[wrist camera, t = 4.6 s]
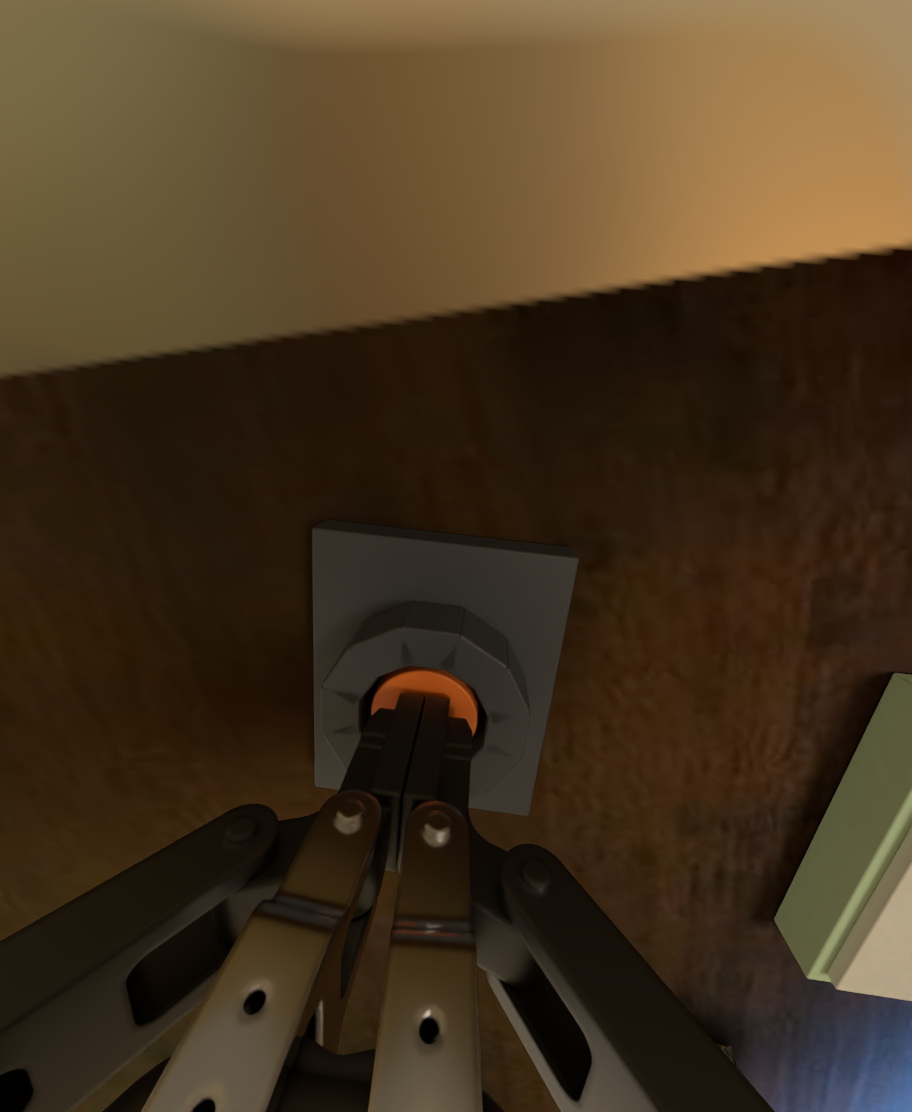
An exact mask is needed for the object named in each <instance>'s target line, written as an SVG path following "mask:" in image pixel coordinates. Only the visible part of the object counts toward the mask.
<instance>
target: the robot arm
mask: <svg viewBox="0 0 912 1112" xmlns="http://www.w3.org/2000/svg"><path fill="white" fill-rule="evenodd" d="M449 709H450V698H443V697H435V696H426V700H425V695H419V694H411V693H403V692H401V693H400V695H399V698H398V701H397V704H396V707H395V710H394V709H386V708H379V709H378V710H377V711H376V712H375V713H374V714H373V715H372V716H371V717H370V718H369V719H368V721H367V723H366V726H365V728H364V731H363V734H362V735H361V738H360V740H359V743H358V747H357V748H356V750H355V753H354V755H353V758H352V760H351V762H350V765H349V767H348V770H347V772H346V775H345V777H344V780H343V782H342V784H341V787H340V789H339V791H338V793H337V794H335V795H334V796H332V797H331V798H330V799H328V800H327V801H326V802H325V803H324V805H323V806H322V807H321V809H320V811H318V812H316V813H314V814H311V815H309V816H305V817H300V818H294V819H288V820H282V821H278V819H277V816H276V814H275V812H274V811H273V810H272V809H270V808H269V807H267V806H265V805H261V804H247V805H243V806H239V807H236V808H234V809H232V810H230V811H228V812H226V813H225V814H223V815H221V816H219V817H218V818H216V819H214V820H212V821H210V822H209V823H207V824H205V825H203V826H202V827H200V828H198V829H196V830H195V831H193V832H191V833H189V834H188V835H186V836H184V837H182V838H181V839H179V840H177V841H175V842H174V843H172V844H170V845H168V846H167V847H165V848H163V849H161V850H160V851H158V852H156V853H154V854H153V855H151V856H149V857H147V858H146V859H144V860H142V861H140V862H139V863H137V864H135V865H133V866H132V867H130V868H128V869H126V870H125V871H123V872H121V873H119V874H118V875H116V876H114V877H112V878H111V879H109V880H107V881H105V882H104V883H102V884H100V885H98V886H96V887H95V888H93V889H91V890H89V891H88V892H86V893H84V894H82V895H81V896H79V897H77V898H75V899H74V900H72V901H70V902H68V903H67V904H65V905H63V906H61V907H60V908H58V909H56V910H54V911H53V912H51V913H49V914H47V915H46V916H44V917H42V918H40V919H39V920H37V921H35V922H33V923H32V924H30V925H28V926H26V927H25V928H23V929H21V930H19V931H18V932H16V933H14V934H12V935H11V936H9V937H7V938H5V939H4V940H2V941H0V1112H71V1111H72V1110H73V1109H74V1108H75V1107H77V1106H78V1105H79V1104H80V1103H81V1102H83V1101H84V1100H85V1099H86V1098H87V1097H89V1096H90V1095H91V1094H92V1093H93V1092H95V1091H96V1090H97V1089H98V1088H99V1087H100V1086H102V1085H103V1084H104V1083H105V1082H106V1081H108V1080H109V1079H110V1078H111V1077H112V1076H114V1075H115V1074H116V1073H117V1072H118V1071H120V1070H121V1069H122V1068H123V1067H124V1066H125V1065H127V1064H128V1063H129V1062H130V1061H131V1060H133V1059H134V1058H135V1057H136V1056H137V1055H139V1054H140V1053H141V1052H142V1051H143V1050H145V1049H146V1048H147V1047H148V1046H149V1045H150V1044H152V1043H153V1042H154V1041H155V1040H156V1039H158V1038H159V1037H160V1036H161V1035H162V1034H164V1033H165V1032H166V1031H167V1030H168V1029H170V1028H171V1027H172V1026H173V1025H174V1024H175V1023H177V1022H178V1021H179V1020H180V1019H181V1018H183V1017H184V1016H185V1015H186V1014H187V1013H189V1012H190V1011H191V1010H192V1009H193V1008H195V1007H196V1006H197V1005H198V1004H199V1003H200V1002H202V1003H201V1004H200V1006H199V1008H198V1010H197V1012H196V1013H195V1015H194V1017H193V1019H192V1021H191V1022H190V1024H189V1026H188V1028H187V1030H186V1031H185V1033H184V1035H183V1037H182V1039H181V1040H180V1042H179V1044H178V1046H177V1048H176V1049H175V1051H174V1053H173V1055H172V1056H171V1057H169V1058H168V1059H166V1060H164V1061H163V1062H161V1063H160V1064H158V1065H157V1066H155V1067H154V1068H153V1069H151V1070H150V1071H149V1072H147V1073H146V1074H145V1075H144V1076H142V1077H141V1078H140V1079H138V1080H137V1081H136V1082H135V1083H134V1084H133V1085H131V1086H130V1087H129V1088H128V1089H127V1090H126V1091H125V1092H124V1093H122V1094H121V1095H120V1096H119V1097H118V1098H117V1099H116V1100H115V1101H114V1102H113V1103H112V1104H110V1105H109V1106H108V1107H107V1108H106V1109H105V1110H104V1111H103V1112H504V1111H503V1110H502V1108H501V1107H500V1106H499V1105H498V1104H497V1103H496V1102H495V1101H494V1100H493V1099H492V1098H491V1097H490V1095H489V1094H487V1093H486V1092H485V1091H484V1090H482V1081H481V1054H480V1027H479V1000H478V974H477V966H478V967H480V968H482V969H483V970H485V971H486V976H487V979H488V982H489V984H490V986H491V988H492V990H493V991H494V993H495V995H496V997H497V998H498V1000H499V1002H500V1004H501V1006H502V1007H503V1009H504V1011H505V1013H506V1014H507V1016H508V1018H509V1020H510V1022H511V1023H512V1025H513V1027H514V1029H515V1030H516V1032H517V1034H518V1036H519V1038H520V1039H521V1041H522V1043H523V1045H524V1046H525V1048H526V1050H527V1052H528V1054H529V1055H530V1057H531V1059H532V1061H533V1063H534V1064H535V1066H536V1068H537V1070H538V1071H539V1073H540V1075H541V1077H542V1079H543V1080H544V1082H545V1084H546V1086H547V1087H548V1089H549V1091H550V1093H551V1095H552V1096H553V1098H554V1100H555V1102H556V1103H557V1105H558V1107H559V1109H560V1111H561V1112H774V1110H773V1109H772V1108H771V1107H770V1106H769V1105H768V1103H767V1102H766V1101H765V1100H764V1099H763V1098H762V1096H761V1095H760V1094H759V1093H758V1092H757V1091H756V1089H755V1088H754V1087H753V1086H752V1085H751V1084H750V1082H749V1081H748V1080H747V1079H746V1078H745V1077H744V1075H743V1074H742V1073H741V1072H740V1071H739V1070H738V1068H737V1067H736V1066H735V1065H734V1064H733V1063H732V1061H731V1060H730V1059H729V1058H728V1057H727V1056H726V1054H725V1053H724V1052H723V1051H722V1050H721V1049H720V1047H719V1046H718V1045H717V1044H716V1043H715V1042H714V1040H713V1039H712V1038H711V1037H710V1036H709V1035H708V1033H707V1032H706V1031H705V1030H704V1029H703V1028H702V1026H701V1025H700V1024H699V1023H698V1022H697V1021H696V1019H695V1018H694V1017H693V1016H692V1015H691V1014H690V1012H689V1011H688V1010H687V1009H686V1008H685V1007H684V1005H683V1004H682V1003H681V1002H680V1001H679V1000H678V998H677V997H676V996H675V995H674V994H673V992H672V991H671V990H670V989H669V988H668V987H667V985H666V984H665V983H664V982H663V981H662V980H661V978H660V977H659V976H658V975H657V974H656V973H655V971H654V970H653V969H652V968H651V967H650V966H649V964H648V963H647V962H646V961H645V960H644V959H643V957H642V956H641V955H640V954H639V953H638V952H637V950H636V949H635V948H634V947H633V946H632V945H631V943H630V942H629V941H628V940H627V939H626V938H625V936H624V935H623V934H622V933H621V932H620V931H619V929H618V928H617V927H616V926H615V925H614V924H613V922H612V921H611V920H610V919H609V918H608V917H607V915H606V914H605V913H604V912H603V911H602V910H601V908H600V907H599V906H598V905H597V904H596V903H595V901H594V900H593V899H592V898H591V897H590V896H589V894H588V893H587V892H586V891H585V890H584V889H583V887H582V886H581V885H580V884H579V883H578V882H577V880H576V879H575V878H574V877H573V876H572V875H571V873H570V872H569V871H568V870H567V869H566V868H565V866H564V865H563V864H562V863H561V862H560V861H559V859H558V858H557V857H556V856H555V855H553V854H552V853H551V852H550V851H548V850H546V849H545V848H542V847H540V846H537V845H533V844H521V845H518V846H515V847H513V848H512V849H510V850H509V851H508V852H507V851H505V850H503V849H501V848H499V847H497V846H495V845H493V844H491V843H489V842H488V841H486V840H485V839H484V838H482V837H481V836H480V835H479V834H478V833H477V831H476V830H475V829H474V827H473V825H472V823H471V821H470V818H469V813H468V805H469V787H470V769H471V751H472V750H471V749H472V733H473V732H472V730H471V728H470V726H469V724H468V722H467V720H466V719H464V718H456V717H449ZM398 855H399V863H398V872H400V874H399V882H398V890H397V898H396V906H395V914H394V921H393V926H392V930H391V936H390V944H389V951H388V959H387V967H386V975H385V983H384V991H383V998H382V1006H381V1014H380V1022H379V1030H378V1038H377V1045H376V1049H373V1050H368V1051H363V1052H358V1053H353V1054H348V1055H337V1054H336V1052H337V1047H338V1043H339V1038H340V1032H341V1026H342V1021H343V1017H344V1013H345V1009H346V1005H347V1002H348V999H349V995H350V992H351V989H352V985H353V982H354V979H355V976H356V972H357V969H358V966H359V962H360V959H361V956H362V953H363V949H364V946H365V943H366V939H367V936H368V933H369V930H370V926H371V923H372V920H373V916H374V913H375V910H376V906H377V898H378V896H379V892H380V889H381V884H382V880H383V876H384V872H385V870H388V871H395V869H396V864H397V860H398Z"/></svg>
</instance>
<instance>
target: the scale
mask: <svg viewBox="0 0 912 1112" xmlns="http://www.w3.org/2000/svg"><path fill="white" fill-rule="evenodd" d="M774 921H775V923H776V925H777V926H778V928H779V930H780V932H781V933H782V935H783V937H784V939H785V940H786V942H787V944H788V946H789V948H790V949H791V951H792V953H793V955H794V956H795V958H796V960H797V962H798V963H799V965H800V967H801V969H802V971H803V972H804V974H805V976H806V977H807V978H808V979H814V980H820V981H827V982H832V983H833V985H834V987H835V988H836V989H837V990H843V991H849V992H856V993H862V994H869V995H875V996H882V997H888V998H895V999H901V1000H908V1001H912V675H910V674H902V673H894V674H893V675H892V677H891V679H890V681H889V683H888V685H887V687H886V689H885V691H884V694H883V696H882V698H881V700H880V702H879V704H878V706H877V708H876V710H875V712H874V714H873V716H872V718H871V720H870V722H869V724H868V726H867V729H866V731H865V733H864V735H863V737H862V739H861V741H860V743H859V745H858V747H857V749H856V751H855V753H854V755H853V757H852V759H851V761H850V763H849V766H848V768H847V770H846V772H845V774H844V776H843V778H842V780H841V782H840V784H839V786H838V788H837V790H836V792H835V794H834V796H833V798H832V801H831V803H830V805H829V807H828V809H827V811H826V813H825V815H824V817H823V819H822V821H821V823H820V825H819V827H818V829H817V831H816V833H815V835H814V838H813V840H812V842H811V844H810V846H809V848H808V850H807V852H806V854H805V856H804V858H803V860H802V862H801V864H800V866H799V868H798V870H797V873H796V875H795V877H794V879H793V881H792V883H791V885H790V887H789V889H788V891H787V893H786V895H785V897H784V899H783V901H782V903H781V905H780V907H779V910H778V912H777V914H776V916H775V918H774Z"/></svg>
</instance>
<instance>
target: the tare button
mask: <svg viewBox="0 0 912 1112" xmlns="http://www.w3.org/2000/svg"><path fill="white" fill-rule="evenodd" d="M401 692H403V693H411V694H419V695H425V700H426V696H435V697H443V698H450V709H449V717H456V718H464V719H466V720H467V722H468V724H469V726H470V728H471V730H472V732H473V733H472V737H473V735H474V733H475V731H476V727H477V719H478V696H477V694H476V692H475V690H474V689H473V688H472V687H470V686H469V685H467V684H466V683H464V682H463V681H461V680H460V679H458V678H456V677H455V676H453V675H452V674H450V673H449V672H447V671H446V670H439V669H431V668H423V667H415V666H407V667H404V668H401V669H398V670H396V671H393V672H390V673H387V674H385V675H383V677H382V679H381V681H380V684H379V686H378V688H377V691H376V693H375V696H374V698H373V702H372V707H371V716H372V715H373V714H374V713H375V712H376V711H377V710H378V709H379V708H386V709H394V710H395V707H396V704H397V701H398V698H399V695H400V693H401Z"/></svg>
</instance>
